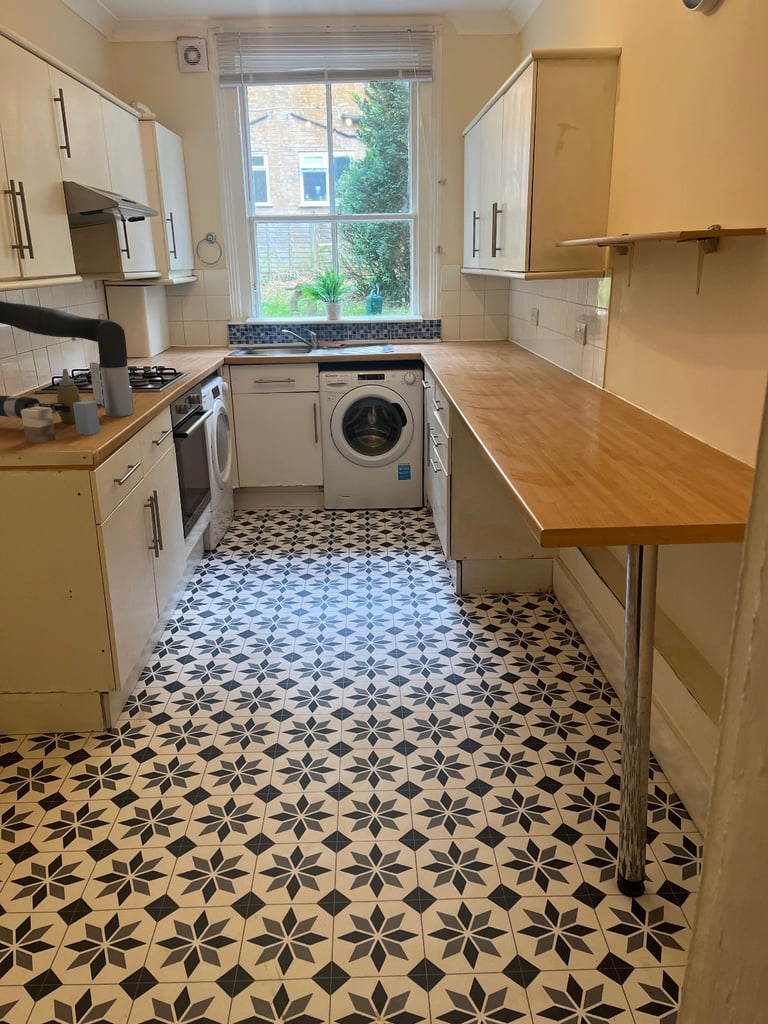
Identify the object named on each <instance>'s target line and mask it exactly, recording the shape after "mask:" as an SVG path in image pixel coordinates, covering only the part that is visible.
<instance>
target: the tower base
mask: <svg viewBox="0 0 768 1024" xmlns="http://www.w3.org/2000/svg"><path fill="white" fill-rule="evenodd" d="M23 431H24V436H25V437H24V438H25V442H26V443H30V442H32V444H41V445H42V444H45V443H48V442H52V441H55V440H56V439H57V438H56V432H55V424H54V423H53V424H51V425H47V426H43V427H39V428H37V427H26V426H23Z"/></svg>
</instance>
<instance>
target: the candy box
mask: <svg viewBox="0 0 768 1024" xmlns="http://www.w3.org/2000/svg"><path fill="white" fill-rule="evenodd" d="M127 366H128V364H127ZM89 368H90V369H89V370H90V378H91V380H90V381H91V387H92V394H93V395H92V396H93V401H96V402H97V406H102V407H105V403H104V395H103V386H102V377H101V369H100V362H99V360H97V361H92V362H89ZM128 375H129V376H130V374H129V372H128ZM129 384H130V381H129ZM130 385H131V384H130Z"/></svg>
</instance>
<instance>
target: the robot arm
mask: <svg viewBox="0 0 768 1024" xmlns="http://www.w3.org/2000/svg"><path fill="white" fill-rule="evenodd" d="M0 324H2V325H6V326H11V327H12V328H16V329H18V330H21V331H24V332H27V333H31V334H35V335H40V336H46V337H47V336H48V337H53V338H54V337H55V338H71V339H72V338H73V339H74V338H77V339H83V340H87V341H88V340H89V341H92V342H96V343H97V346H98V347H97V348H98V357H99V358H98V361H99V362H100V369H101V377H102V386H103V395H104V403H105V406H104V409H105V416H106V417H112V418H113V417H127V416H131V415H133V414H134V413H135V408H134V407H135V406H134V399H133V398H134V397H133V388H132V386H131V384H129V382H130V374H129V375H128V373H129V367H128V366H127V365H128V353H127V351H128V350H127V341H126V334H125V329H124V327H123V326H122V325H121V324H120V323H119V322H117V321H116V320H112V319H108V318H107V319H103V318H93V317H84V316H79V315H76V314H73V313H70V312H66V311H62V310H58V309H55V308H49V307H45V306H41V305H40V306H38V305H32V304H26V303H25V304H23V303H13V302H9V301H8V302H7V301H3V300H0ZM32 407H47V408H51V410H52V415H54V414H56V413H58V412H68V413H69V412H71V407H70V406H68V405H65V403H58V402H56V401H55V402H53V401H50V402H43V401H42V402H40V400H39V399H38V398H37V397H33V396H24V395H23V396H21V395H1V394H0V417H5V418H6V417H7V418H13V419H19V420H22V413H21V410H23V409H28V408H32Z"/></svg>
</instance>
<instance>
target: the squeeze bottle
mask: <svg viewBox="0 0 768 1024" xmlns="http://www.w3.org/2000/svg"><path fill="white" fill-rule="evenodd" d="M58 382H59V386H58V387H57V388H56V390H57V391H56V393H57V403H65V405H68V406H70V407H71V412H69V413H68V412H57V413H58V415H59V417H60V420H61V422H62V423H66V424H72V423H75V415H74V407H73V403H76V402H80V401H82V400H81V397H80V392H79V387H78V386H76V385H75V380H74V379H72V378H71V377H70V374H69V371H68V369H67V368H63V369H62V378H61V379H59V380H58ZM75 424H76V423H75Z"/></svg>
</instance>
